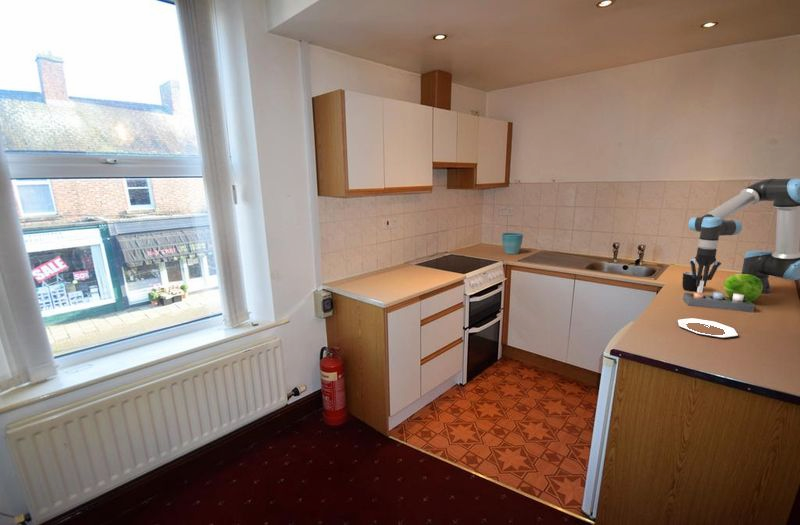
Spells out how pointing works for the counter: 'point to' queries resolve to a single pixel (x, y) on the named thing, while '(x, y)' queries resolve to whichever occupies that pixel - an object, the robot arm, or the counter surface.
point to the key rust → (698, 295)
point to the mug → (689, 282)
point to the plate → (728, 330)
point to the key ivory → (738, 297)
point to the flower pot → (512, 242)
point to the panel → (718, 303)
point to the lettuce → (743, 286)
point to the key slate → (718, 295)
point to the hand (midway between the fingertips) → (699, 292)
